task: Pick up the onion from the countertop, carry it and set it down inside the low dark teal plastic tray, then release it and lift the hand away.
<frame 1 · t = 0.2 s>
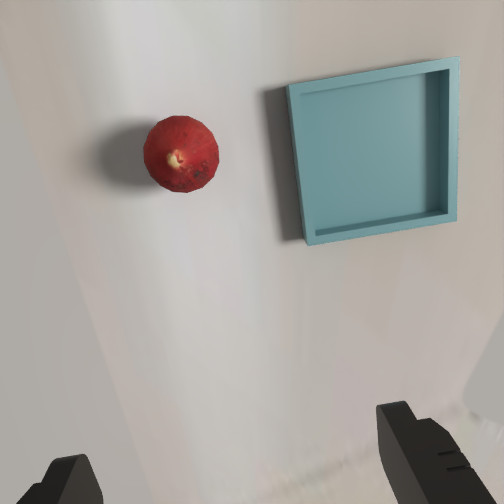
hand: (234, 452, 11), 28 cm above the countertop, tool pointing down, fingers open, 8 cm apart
tray: (369, 154, 36), on the countertop
onion: (186, 150, 35), on the countertop
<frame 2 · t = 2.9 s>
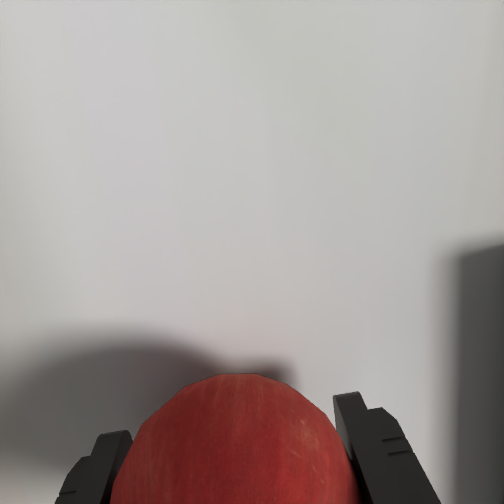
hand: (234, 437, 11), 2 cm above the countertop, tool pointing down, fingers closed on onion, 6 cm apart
onion: (235, 392, 13), on the countertop, touching gripper
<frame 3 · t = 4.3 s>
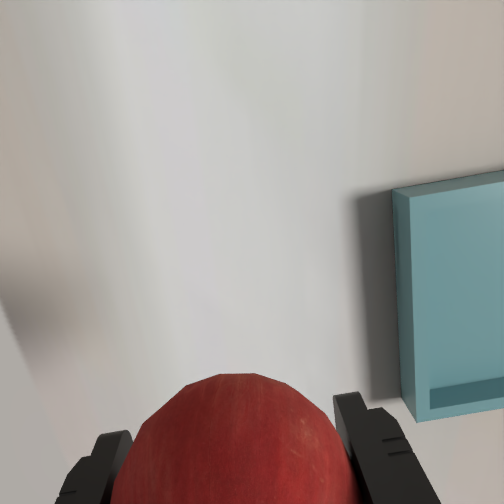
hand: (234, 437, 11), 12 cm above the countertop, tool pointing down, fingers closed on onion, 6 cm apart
onion: (235, 392, 13), point 10 cm above the countertop, touching gripper
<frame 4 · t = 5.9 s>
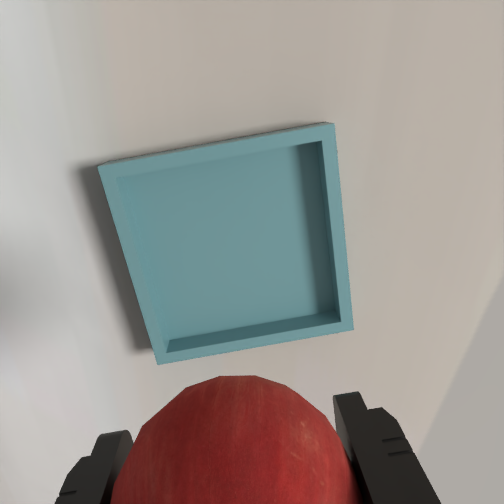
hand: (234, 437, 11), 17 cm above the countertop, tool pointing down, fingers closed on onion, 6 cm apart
tray: (236, 244, 27), on the countertop
onion: (235, 394, 13), point 15 cm above the countertop, touching gripper
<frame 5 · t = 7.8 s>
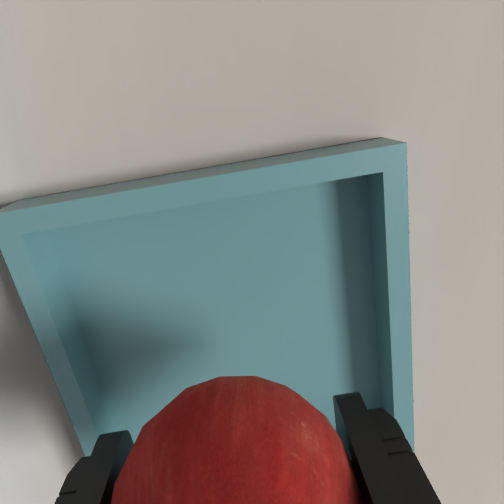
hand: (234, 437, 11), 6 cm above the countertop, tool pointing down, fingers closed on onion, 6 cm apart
tray: (233, 326, 17), on the countertop
onion: (236, 394, 13), point 4 cm above the countertop, touching gripper
when the fingers open (3 cm above the countertop, at t = 9.3 s): onion drops 1 cm, resting on tray.
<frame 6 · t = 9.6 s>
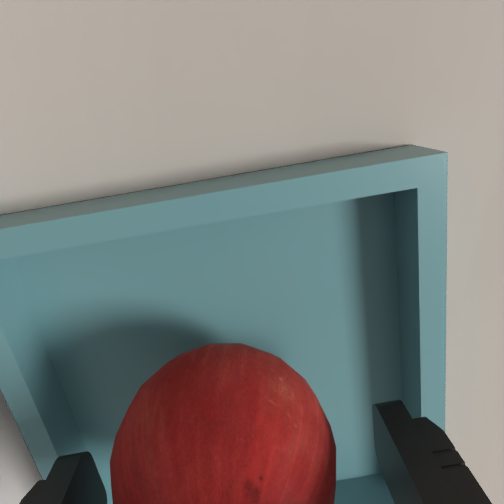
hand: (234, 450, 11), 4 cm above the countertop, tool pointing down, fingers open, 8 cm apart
tray: (233, 362, 15), on the countertop
onion: (228, 368, 14), resting on tray
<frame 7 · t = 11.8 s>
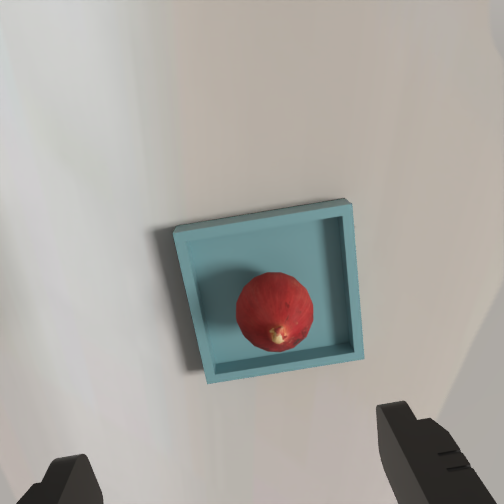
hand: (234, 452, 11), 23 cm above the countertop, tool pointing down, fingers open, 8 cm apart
tray: (272, 289, 34), on the countertop
onion: (270, 290, 34), resting on tray
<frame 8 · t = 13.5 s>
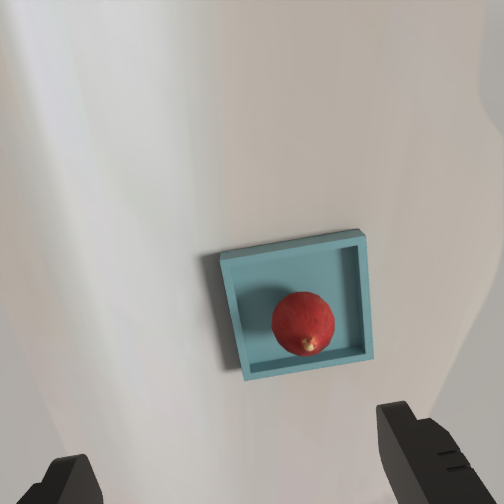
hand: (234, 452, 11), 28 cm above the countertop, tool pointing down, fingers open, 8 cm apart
tray: (297, 302, 41), on the countertop
onion: (296, 303, 41), resting on tray
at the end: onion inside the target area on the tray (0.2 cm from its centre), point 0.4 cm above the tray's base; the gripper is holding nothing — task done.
